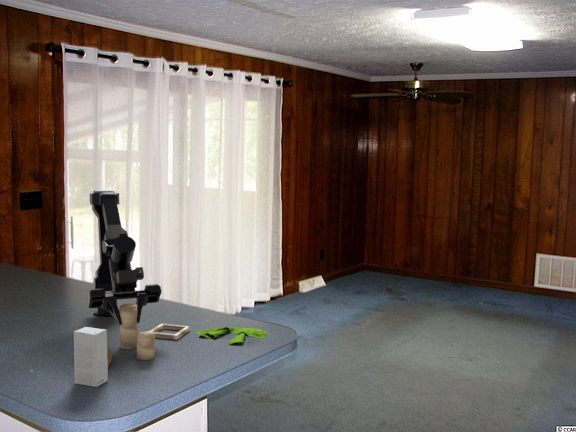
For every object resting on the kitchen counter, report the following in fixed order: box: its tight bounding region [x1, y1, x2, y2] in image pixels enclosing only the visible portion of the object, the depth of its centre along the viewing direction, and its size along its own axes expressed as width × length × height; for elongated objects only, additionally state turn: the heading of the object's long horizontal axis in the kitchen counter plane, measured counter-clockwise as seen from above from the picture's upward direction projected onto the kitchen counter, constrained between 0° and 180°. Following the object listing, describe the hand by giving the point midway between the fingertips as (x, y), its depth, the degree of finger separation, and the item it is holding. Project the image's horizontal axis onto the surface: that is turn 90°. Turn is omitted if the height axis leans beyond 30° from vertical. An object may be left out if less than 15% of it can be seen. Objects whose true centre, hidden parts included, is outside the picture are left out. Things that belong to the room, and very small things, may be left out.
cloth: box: [194, 326, 270, 346], centre depth 165 cm, size 20×22×2 cm
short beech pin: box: [136, 330, 156, 361], centre depth 147 cm, size 4×4×6 cm
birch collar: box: [149, 323, 191, 341], centre depth 166 cm, size 9×9×1 cm
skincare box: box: [73, 326, 109, 388], centre depth 130 cm, size 6×4×12 cm
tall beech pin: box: [119, 303, 138, 350], centre depth 154 cm, size 4×4×11 cm
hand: (129, 323), depth 153 cm, fingers closed on tall beech pin, 4 cm apart
